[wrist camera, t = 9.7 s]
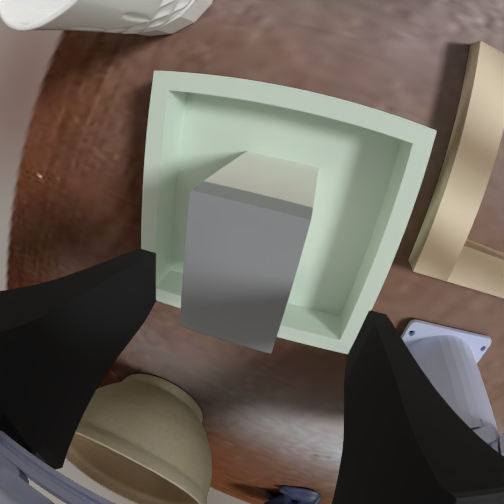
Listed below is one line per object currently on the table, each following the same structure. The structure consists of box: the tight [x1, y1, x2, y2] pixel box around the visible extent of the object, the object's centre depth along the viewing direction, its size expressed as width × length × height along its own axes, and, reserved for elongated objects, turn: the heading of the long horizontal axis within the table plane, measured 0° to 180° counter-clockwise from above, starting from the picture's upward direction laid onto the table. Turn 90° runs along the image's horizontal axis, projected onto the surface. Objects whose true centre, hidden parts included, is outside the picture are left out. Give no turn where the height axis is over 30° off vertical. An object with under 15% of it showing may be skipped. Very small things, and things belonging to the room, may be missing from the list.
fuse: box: [180, 151, 319, 354], centre depth 15 cm, size 6×4×8 cm, turn 170°
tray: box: [141, 71, 437, 354], centre depth 18 cm, size 14×14×3 cm
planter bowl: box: [66, 374, 212, 504], centre depth 27 cm, size 16×16×11 cm
